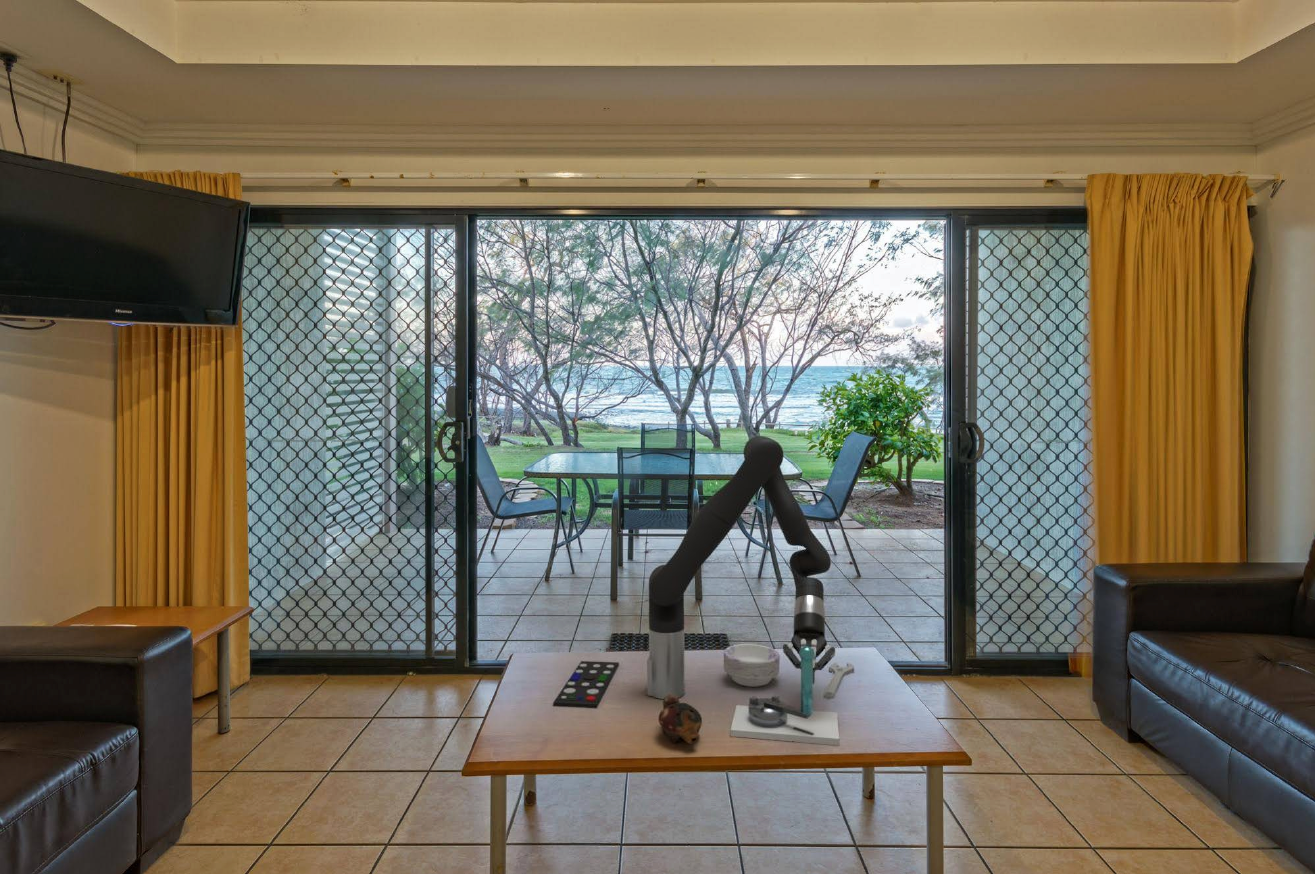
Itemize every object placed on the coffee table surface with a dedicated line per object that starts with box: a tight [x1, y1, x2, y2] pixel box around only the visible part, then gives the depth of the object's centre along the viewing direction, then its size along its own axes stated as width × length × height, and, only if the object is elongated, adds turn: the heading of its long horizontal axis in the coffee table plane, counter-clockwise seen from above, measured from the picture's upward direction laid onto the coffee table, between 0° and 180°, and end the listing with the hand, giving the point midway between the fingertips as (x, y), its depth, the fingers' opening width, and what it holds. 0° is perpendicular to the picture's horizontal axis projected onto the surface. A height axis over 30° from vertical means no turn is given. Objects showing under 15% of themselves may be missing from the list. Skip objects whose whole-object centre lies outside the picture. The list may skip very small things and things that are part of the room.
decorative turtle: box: [658, 695, 703, 745], centre depth 167 cm, size 10×15×8 cm, turn 27°
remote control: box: [552, 660, 620, 709], centre depth 200 cm, size 11×30×2 cm, turn 172°
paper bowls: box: [723, 643, 781, 688], centre depth 201 cm, size 15×15×8 cm
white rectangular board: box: [730, 704, 840, 746], centre depth 172 cm, size 24×14×2 cm, turn 78°
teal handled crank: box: [747, 646, 815, 727], centre depth 170 cm, size 16×9×19 cm, turn 52°
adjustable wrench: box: [822, 662, 855, 700], centre depth 200 cm, size 25×6×2 cm, turn 152°
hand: (808, 684), depth 172 cm, fingers closed
